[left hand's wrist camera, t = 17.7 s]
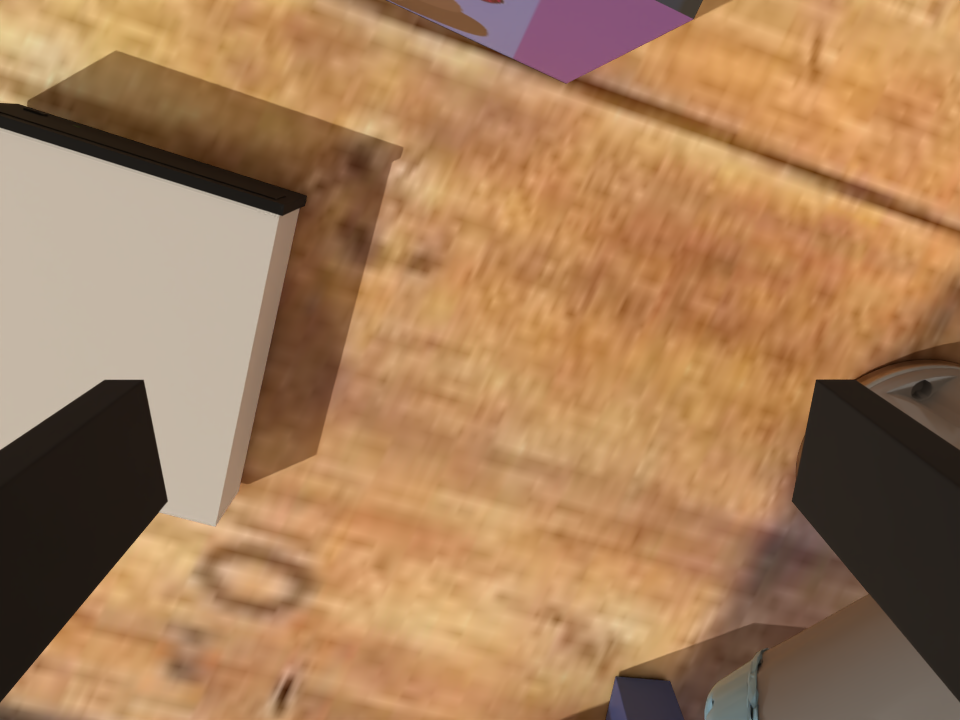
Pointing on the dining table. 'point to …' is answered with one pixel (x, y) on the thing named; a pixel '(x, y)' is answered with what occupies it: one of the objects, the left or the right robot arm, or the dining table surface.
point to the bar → (643, 700)
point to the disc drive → (139, 292)
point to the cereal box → (558, 28)
